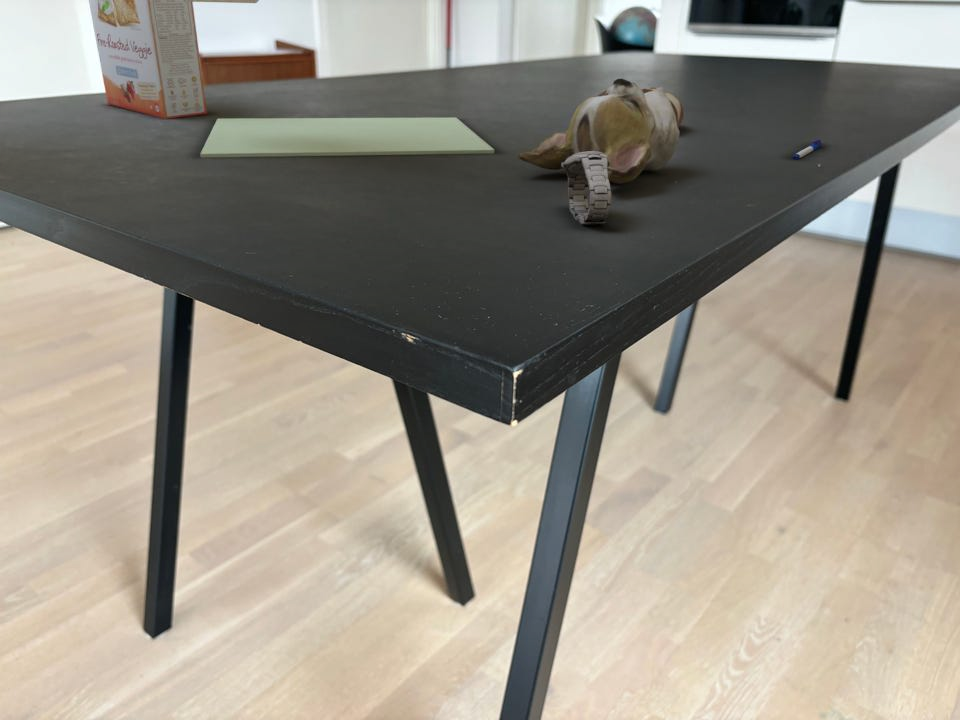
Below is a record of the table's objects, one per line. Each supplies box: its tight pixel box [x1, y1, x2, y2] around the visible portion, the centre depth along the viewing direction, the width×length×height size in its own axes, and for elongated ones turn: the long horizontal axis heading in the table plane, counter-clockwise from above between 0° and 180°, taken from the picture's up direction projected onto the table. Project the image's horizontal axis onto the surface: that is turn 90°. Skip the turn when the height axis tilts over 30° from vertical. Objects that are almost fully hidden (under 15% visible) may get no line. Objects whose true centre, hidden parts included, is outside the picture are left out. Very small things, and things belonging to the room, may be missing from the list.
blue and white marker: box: [792, 139, 823, 160], centre depth 83 cm, size 10×1×1 cm, turn 147°
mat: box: [199, 117, 495, 159], centre depth 83 cm, size 28×20×1 cm
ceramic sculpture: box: [517, 78, 681, 184], centre depth 67 cm, size 11×9×15 cm
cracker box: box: [88, 0, 208, 120], centre depth 90 cm, size 14×6×21 cm, turn 49°
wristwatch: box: [562, 151, 612, 226], centre depth 55 cm, size 4×6×5 cm, turn 8°
